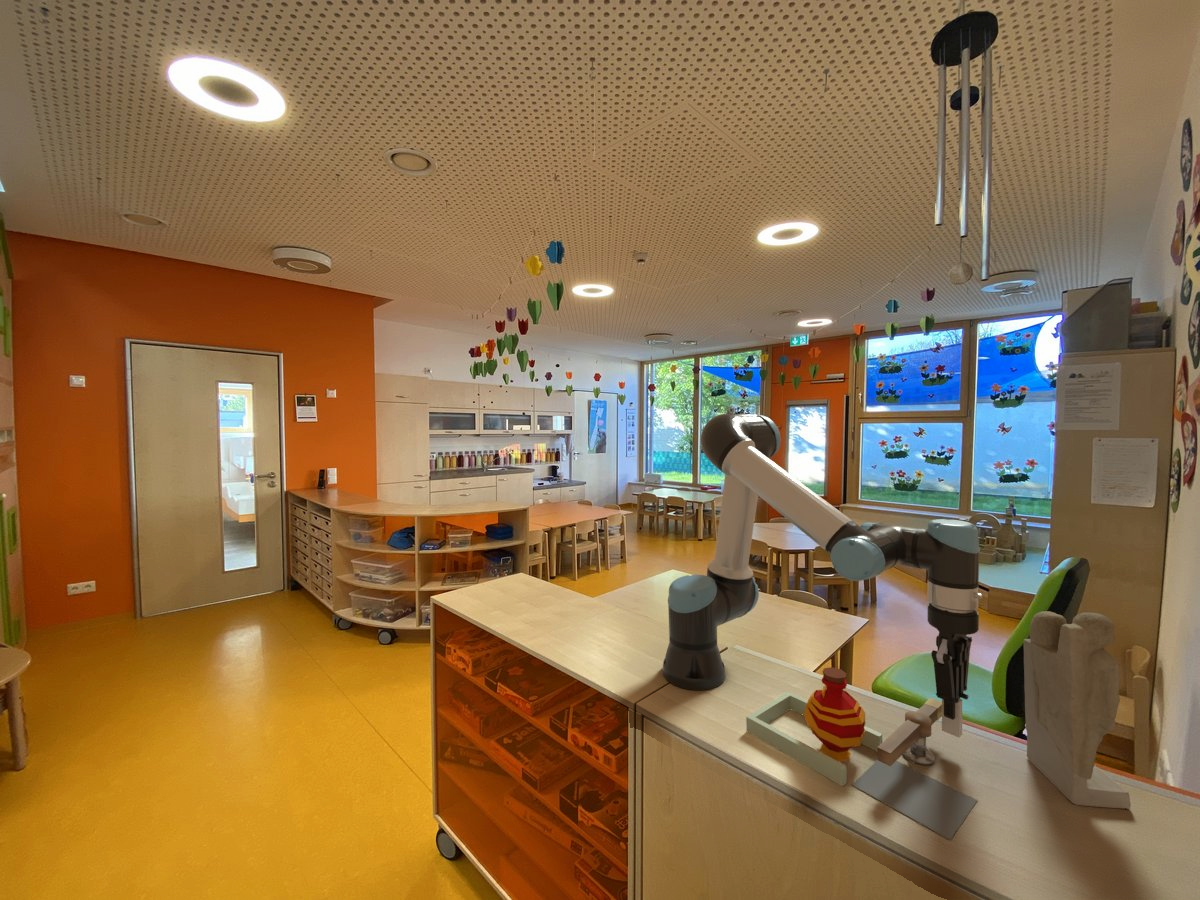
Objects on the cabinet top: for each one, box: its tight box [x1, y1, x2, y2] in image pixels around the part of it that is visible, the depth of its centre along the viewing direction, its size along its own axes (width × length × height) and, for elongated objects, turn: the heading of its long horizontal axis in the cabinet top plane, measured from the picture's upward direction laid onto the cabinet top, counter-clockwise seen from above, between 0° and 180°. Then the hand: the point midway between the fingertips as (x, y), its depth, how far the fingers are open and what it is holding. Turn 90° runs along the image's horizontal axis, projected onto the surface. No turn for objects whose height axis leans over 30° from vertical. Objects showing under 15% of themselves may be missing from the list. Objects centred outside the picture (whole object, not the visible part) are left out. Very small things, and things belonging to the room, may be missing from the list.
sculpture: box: [1023, 610, 1131, 810], centre depth 79 cm, size 15×8×30 cm, turn 168°
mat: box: [851, 760, 978, 841], centre depth 79 cm, size 14×12×1 cm
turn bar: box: [876, 697, 942, 766], centre depth 86 cm, size 4×23×2 cm, turn 127°
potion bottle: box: [804, 666, 866, 762], centre depth 89 cm, size 10×10×15 cm
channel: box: [745, 691, 883, 787], centre depth 93 cm, size 19×15×3 cm
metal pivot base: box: [902, 737, 936, 767], centre depth 88 cm, size 5×5×4 cm
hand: (951, 732), depth 88 cm, fingers closed
